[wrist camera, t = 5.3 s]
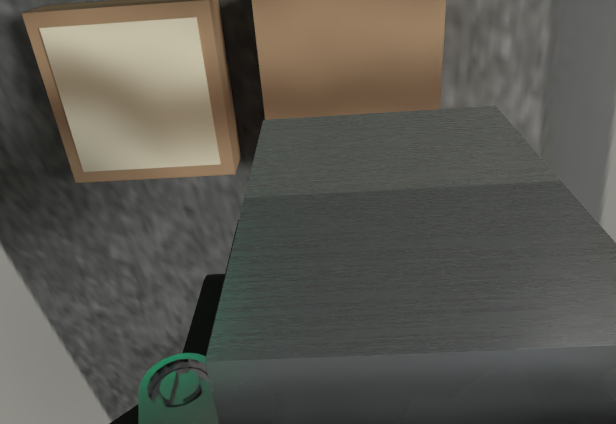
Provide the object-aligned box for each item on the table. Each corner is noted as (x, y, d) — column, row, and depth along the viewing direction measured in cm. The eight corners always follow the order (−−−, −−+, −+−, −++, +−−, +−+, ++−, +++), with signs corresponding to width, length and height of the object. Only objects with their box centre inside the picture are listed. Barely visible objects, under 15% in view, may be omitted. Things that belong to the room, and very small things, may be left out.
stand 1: (45, 5, 27) (20, 13, 25) (217, -7, 27) (208, 0, 24) (92, 164, 32) (74, 184, 29) (240, 155, 31) (234, 175, 29)
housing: (263, 119, 11) (204, 362, 5) (495, 105, 11) (703, 342, 5) (290, 351, 15) (273, 653, 9) (467, 344, 15) (571, 649, 9)
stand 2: (256, -10, 27) (251, -3, 24) (436, -23, 26) (446, -17, 24) (274, 154, 31) (271, 172, 29) (428, 145, 31) (436, 163, 28)
